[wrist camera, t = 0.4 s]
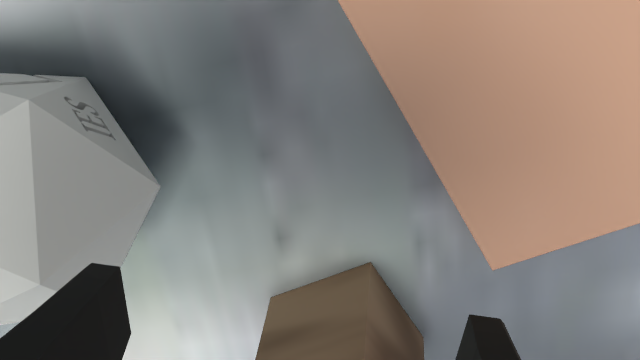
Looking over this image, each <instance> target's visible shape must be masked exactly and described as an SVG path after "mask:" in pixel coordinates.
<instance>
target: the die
mask: <svg viewBox="0 0 640 360" xmlns="http://www.w3.org/2000/svg"><path fill="white" fill-rule="evenodd" d="M160 187H161V186H160V185H159V183H158V182H157V180H156V179H155V178H154V176H153V175H152V173H151V172H150V170H149V169H148V167H147V166H146V164H145V163H144V161H143V160H142V159H141V157H140V156H139V154H138V153H137V151H136V150H135V148H134V147H133V145H132V144H131V142H130V141H129V140H128V138H127V137H126V135H125V134H124V132H123V131H122V129H121V128H120V126H119V125H118V123H117V122H116V121H115V119H114V118H113V116H112V115H111V113H110V112H109V110H108V109H107V107H106V106H105V104H104V103H103V102H102V100H101V99H100V97H99V96H98V94H97V93H96V91H95V90H94V88H93V87H92V85H91V84H90V83H89V81H88V80H87V78H86V77H72V76H51V75H35V76H30V75H26V74H8V73H0V325H4V324H10V323H16V322H21V321H22V320H24V319H25V318H26V317H27V316H29V315H30V314H31V313H32V312H34V311H35V310H36V309H37V308H38V307H40V306H41V305H42V304H43V303H44V302H45V301H47V300H48V299H49V298H50V297H51V296H53V295H54V294H55V293H56V292H57V291H58V290H60V289H61V288H62V287H63V286H64V285H65V284H67V283H68V282H69V281H70V280H71V279H72V278H74V277H75V276H76V275H77V274H78V273H80V272H81V271H82V270H83V269H84V268H86V267H87V266H88V265H89V264H91V263H97V264H104V265H111V266H119V267H120V268H121V266H122V264H123V262H124V260H125V258H126V256H127V254H128V252H129V250H130V248H131V246H132V244H133V242H134V240H135V238H136V236H137V234H138V232H139V230H140V228H141V226H142V224H143V222H144V220H145V218H146V216H147V214H148V211H149V209H150V207H151V205H152V203H153V201H154V199H155V197H156V195H157V193H158V191H159V189H160Z"/></svg>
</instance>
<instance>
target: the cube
mask: <svg viewBox="0 0 640 360" xmlns="http://www.w3.org/2000/svg"><path fill="white" fill-rule="evenodd" d="M255 360H424V340H423V336H422V335H421V333H420V332H419V330H418V329H417V328H416V326H415V325H414V323H413V322H412V320H411V319H410V318H409V316H408V315H407V313H406V312H405V310H404V309H403V308H402V306H401V305H400V303H399V302H398V300H397V299H396V298H395V296H394V295H393V293H392V292H391V290H390V289H389V288H388V286H387V285H386V283H385V282H384V280H383V279H382V278H381V276H380V275H379V273H378V272H377V270H376V269H375V268H374V266H373V265H372V263H371V262H370V263H367V264H364V265H361V266H358V267H355V268H353V269H350V270H347V271H344V272H341V273H339V274H336V275H333V276H330V277H327V278H324V279H322V280H319V281H316V282H313V283H310V284H308V285H305V286H302V287H299V288H296V289H293V290H291V291H288V292H285V293H282V294H279V295H277V296H274V297H271V299H270V303H269V307H268V311H267V315H266V319H265V323H264V327H263V331H262V335H261V339H260V343H259V347H258V351H257V355H256V359H255Z"/></svg>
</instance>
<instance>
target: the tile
mask: <svg viewBox="0 0 640 360" xmlns="http://www.w3.org/2000/svg"><path fill="white" fill-rule="evenodd" d="M338 1H339V3H340V5H341V7H342V8H343V10H344V12H345V14H346V15H347V17H348V19H349V21H350V22H351V24H352V26H353V28H354V29H355V31H356V33H357V35H358V36H359V38H360V40H361V42H362V43H363V45H364V47H365V49H366V50H367V52H368V54H369V56H370V57H371V59H372V61H373V63H374V64H375V66H376V68H377V70H378V71H379V73H380V75H381V77H382V78H383V80H384V82H385V84H386V85H387V87H388V89H389V91H390V92H391V94H392V96H393V98H394V99H395V101H396V103H397V105H398V106H399V108H400V110H401V112H402V113H403V115H404V117H405V118H406V120H407V122H408V124H409V125H410V127H411V129H412V131H413V132H414V134H415V136H416V138H417V139H418V141H419V143H420V145H421V146H422V148H423V150H424V152H425V153H426V155H427V157H428V159H429V160H430V162H431V164H432V166H433V167H434V169H435V171H436V173H437V174H438V176H439V178H440V180H441V181H442V183H443V185H444V187H445V188H446V190H447V192H448V194H449V195H450V197H451V199H452V201H453V202H454V204H455V206H456V208H457V209H458V211H459V213H460V215H461V216H462V218H463V220H464V222H465V223H466V225H467V227H468V229H469V230H470V232H471V234H472V235H473V237H474V239H475V241H476V242H477V244H478V246H479V248H480V249H481V251H482V253H483V255H484V256H485V258H486V260H487V262H488V263H489V265H490V267H491V269H492V270H495V269H499V268H502V267H505V266H508V265H511V264H514V263H517V262H520V261H524V260H527V259H530V258H533V257H536V256H539V255H542V254H545V253H548V252H552V251H555V250H558V249H561V248H564V247H567V246H570V245H573V244H576V243H580V242H583V241H586V240H589V239H592V238H595V237H598V236H601V235H604V234H608V233H611V232H614V231H617V230H620V229H623V228H626V227H629V226H632V225H636V224H639V223H640V0H338Z"/></svg>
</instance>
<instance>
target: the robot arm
mask: <svg viewBox="0 0 640 360" xmlns="http://www.w3.org/2000/svg"><path fill="white" fill-rule="evenodd" d="M130 335H131V330H130V324H129V318H128V312H127V306H126V300H125V294H124V288H123V282H122V276H121V270H120V267H119V266H111V265H104V264H97V263H91V264H89V265H88V266H87V267H86V268H84V269H83V270H82V271H81V272H80V273H78V274H77V275H76V276H75V277H74V278H72V279H71V280H70V281H69V282H68V283H67V284H65V285H64V286H63V287H62V288H61V289H60V290H58V291H57V292H56V293H55V294H54V295H53V296H51V297H50V298H49V299H48V300H47V301H45V302H44V303H43V304H42V305H41V306H40V307H38V308H37V309H36V310H35V311H34V312H32V313H31V314H30V315H29V316H27V317H26V318H25V319H24V320H22V321H21V322H20V323H19V324H18V325H16V326H15V327H14V328H13V329H11V330H10V331H9V332H8V333H6V334H5V335H4V336H3V337H1V338H0V360H122V358H123V355H124V352H125V349H126V346H127V343H128V341H129V338H130ZM456 360H521V358H520V356H519V354H518V352H517V350H516V348H515V346H514V344H513V342H512V340H511V338H510V336H509V333H508V331H507V329H506V327H505V325H504V323H503V322H502V320H501V319H498V318H491V317H484V316H476V315H469V317H468V320H467V324H466V327H465V330H464V334H463V337H462V340H461V343H460V347H459V350H458V353H457V357H456Z"/></svg>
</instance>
